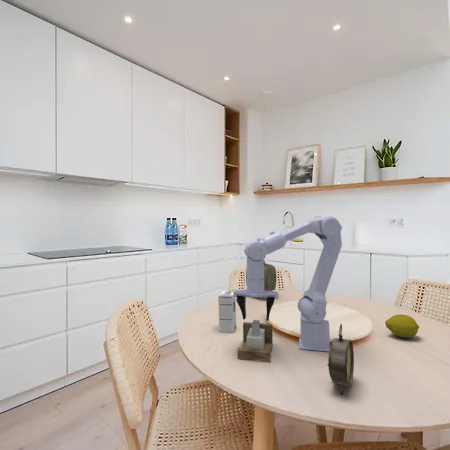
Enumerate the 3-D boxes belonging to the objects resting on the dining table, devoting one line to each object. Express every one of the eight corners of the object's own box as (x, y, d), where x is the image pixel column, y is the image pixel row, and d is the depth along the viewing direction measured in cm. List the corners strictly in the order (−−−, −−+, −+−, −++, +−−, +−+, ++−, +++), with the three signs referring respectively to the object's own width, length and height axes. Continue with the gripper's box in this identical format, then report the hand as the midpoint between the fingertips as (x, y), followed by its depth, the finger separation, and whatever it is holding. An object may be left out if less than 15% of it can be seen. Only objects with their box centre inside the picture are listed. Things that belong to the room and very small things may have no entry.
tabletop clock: (276, 298, 154) (276, 251, 153) (265, 302, 147) (265, 253, 146) (255, 293, 164) (255, 249, 163) (244, 296, 158) (244, 250, 157)
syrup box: (233, 332, 111) (233, 295, 110) (218, 331, 112) (218, 294, 111) (236, 327, 116) (235, 291, 116) (221, 326, 117) (221, 290, 117)
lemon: (416, 334, 107) (416, 312, 106) (423, 343, 99) (423, 320, 99) (383, 330, 110) (383, 310, 110) (387, 339, 103) (387, 317, 102)
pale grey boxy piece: (264, 343, 100) (264, 318, 99) (262, 354, 92) (262, 327, 91) (250, 342, 101) (249, 317, 100) (246, 353, 93) (246, 326, 93)
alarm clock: (348, 399, 70) (348, 333, 70) (325, 392, 73) (324, 329, 73) (355, 377, 80) (355, 318, 79) (334, 372, 83) (334, 315, 82)
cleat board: (272, 343, 101) (272, 324, 100) (269, 362, 89) (269, 339, 88) (244, 341, 103) (243, 322, 103) (237, 358, 91) (237, 336, 91)
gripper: (231, 280, 93) (232, 322, 94) (277, 281, 90) (277, 325, 91) (235, 275, 100) (236, 314, 101) (278, 276, 97) (278, 317, 98)
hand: (255, 319), depth 96 cm, fingers open, 7 cm apart
